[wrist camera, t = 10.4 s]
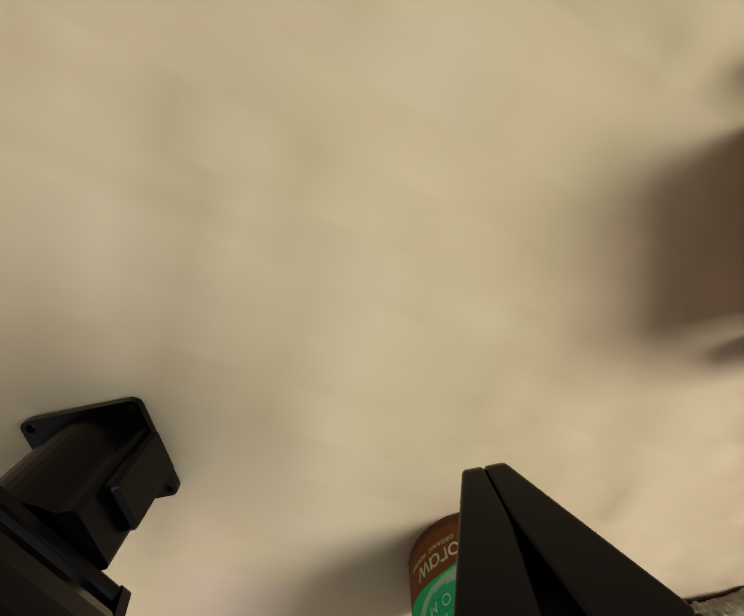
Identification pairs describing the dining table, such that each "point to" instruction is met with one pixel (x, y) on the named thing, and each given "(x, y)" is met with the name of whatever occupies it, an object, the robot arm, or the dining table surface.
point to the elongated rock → (722, 605)
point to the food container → (434, 569)
